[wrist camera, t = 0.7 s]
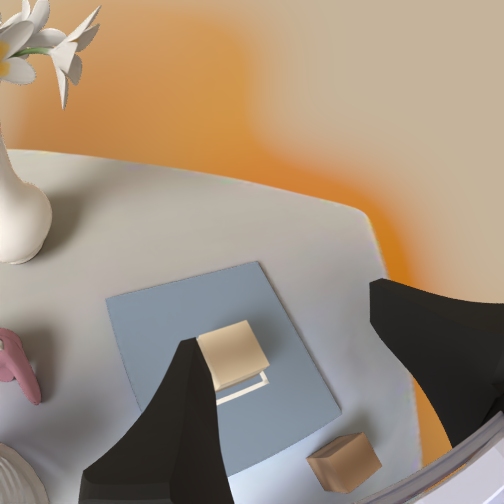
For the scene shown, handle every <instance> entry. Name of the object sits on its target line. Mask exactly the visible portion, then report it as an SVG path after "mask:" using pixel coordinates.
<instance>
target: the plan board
mask: <svg viewBox="0 0 504 504" xmlns="http://www.w3.org/2000/svg"><path fill="white" fill-rule="evenodd" d="M105 300H106V304H107V308H108V312H109V316H110V319H111V323H112V327H113V330H114V334H115V337H116V341H117V344H118V347H119V350H120V354H121V357H122V360H123V363H124V366H125V369H126V372H127V375H128V378H129V380H130V383H131V386H132V389H133V391H134V394H135V397H136V399H137V402H138V404H139V407H140V409H141V412H142V413H143V412H144V410H145V409H146V407H147V406H148V404H149V403H150V401H151V399H152V398H153V396H154V394H155V392H156V391H157V389H158V387H159V385H160V383H161V382H162V380H163V378H164V375H165V373H166V371H167V369H168V367H169V365H170V363H171V361H172V358H173V356H174V354H175V351H176V349H177V347H178V345H179V343H180V341H182V340H186V339H190V338H193V337H196V339H197V340H198V337H199V335H202V334H206V333H209V332H212V331H215V330H218V329H221V328H224V327H227V326H230V325H233V324H236V323H239V322H242V321H245V320H247V322H248V324H249V326H250V328H251V329H252V331H253V333H254V335H255V337H256V339H257V341H258V343H259V345H260V347H261V349H262V351H263V353H264V355H265V357H266V359H267V361H268V362H269V364H270V365H269V366H268V367H267V368H266V369H264V370H263V371H262V372H261V373H259V374H258V375H257V376H256V377H254V378H252V379H250V380H247V381H245V382H242V383H240V384H238V385H235V386H233V387H230V388H228V389H225V390H222V391H220V392H217V393H215V394H216V403H217V415H218V427H219V438H220V446H221V453H222V457H223V462H224V466H225V470H226V474H227V477H229V476H231V475H233V474H236V473H238V472H240V471H242V470H244V469H247V468H249V467H251V466H253V465H255V464H257V463H259V462H261V461H263V460H265V459H267V458H269V457H271V456H273V455H275V454H277V453H279V452H280V451H282V450H284V449H286V448H288V447H290V446H291V445H293V444H295V443H297V442H298V441H300V440H302V439H304V438H305V437H307V436H309V435H310V434H312V433H314V432H315V431H317V430H318V429H320V428H322V427H323V426H325V425H326V424H328V423H329V422H331V421H332V420H334V419H336V418H337V417H339V416H340V415H341V414H342V412H341V411H340V409H339V407H338V405H337V403H336V402H335V400H334V398H333V396H332V395H331V393H330V391H329V389H328V387H327V386H326V384H325V382H324V380H323V378H322V377H321V375H320V373H319V371H318V369H317V368H316V366H315V364H314V362H313V360H312V359H311V357H310V355H309V353H308V352H307V350H306V348H305V346H304V344H303V343H302V341H301V339H300V337H299V335H298V334H297V332H296V330H295V328H294V326H293V325H292V323H291V321H290V319H289V317H288V316H287V314H286V312H285V310H284V309H283V307H282V305H281V303H280V301H279V300H278V298H277V296H276V294H275V292H274V291H273V289H272V287H271V285H270V283H269V282H268V280H267V278H266V276H265V275H264V273H263V271H262V269H261V267H260V266H259V264H258V262H257V261H256V262H252V263H248V264H244V265H240V266H236V267H232V268H228V269H224V270H220V271H216V272H212V273H208V274H204V275H200V276H196V277H192V278H188V279H184V280H180V281H176V282H172V283H168V284H164V285H160V286H156V287H152V288H148V289H144V290H139V291H135V292H131V293H127V294H123V295H119V296H115V297H110V298H106V299H105Z"/></svg>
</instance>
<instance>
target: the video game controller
mask: <svg viewBox="0 0 504 504" xmlns="http://www.w3.org/2000/svg"><path fill="white" fill-rule="evenodd" d="M14 376H15V378H16V379H17V381H18V383H19V385H20V387H21V388H22V390H23V392H24V394H25V396H26V397H27V398H28V399H29V400H30V401H31V402H32V403H33V404H35V405H39V404H40V402H41V392H40V388H39V385H38V382H37V379H36V377H35V374H34V372H33V370H32V367H31V366H30V364H29V362H28V360H27V357H26V355H25V353H24V351H23V349H22V343H21V340H20V338H19V337H18V336H17V335H16V334H15V333H14V332H12V331H10V330H8V329H5V328H0V381H3V382H9V381H12V380H13V378H14Z"/></svg>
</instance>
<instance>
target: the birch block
mask: <svg viewBox="0 0 504 504" xmlns="http://www.w3.org/2000/svg"><path fill="white" fill-rule="evenodd" d="M197 341H198V344H199V346H200V349H201V351H202V353H203V356H204V358H205V360H206V363H207V365H208V367H209V369H210V372H211V374H212V379H213V384H214V388H215V393H217V392H220V391H222V390H225V389H228V388H230V387H233V386H235V385H238V384H240V383H242V382H245V381H247V380H250V379H252V378H254V377H256V376H257V375H258V374H259V373H261V372H262V371H263V370H264V369H266V368H267V367H268V366H269V365H270V364H269V362H268V361H267V359H266V357H265V355H264V353H263V351H262V349H261V347H260V345H259V343H258V341H257V339H256V337H255V335H254V333H253V331H252V329H251V328H250V326H249V324H248V322H247V320H245V321H242V322H239V323H236V324H233V325H230V326H227V327H224V328H221V329H218V330H215V331H212V332H209V333H206V334H202V335H199V337H198V340H197Z"/></svg>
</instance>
